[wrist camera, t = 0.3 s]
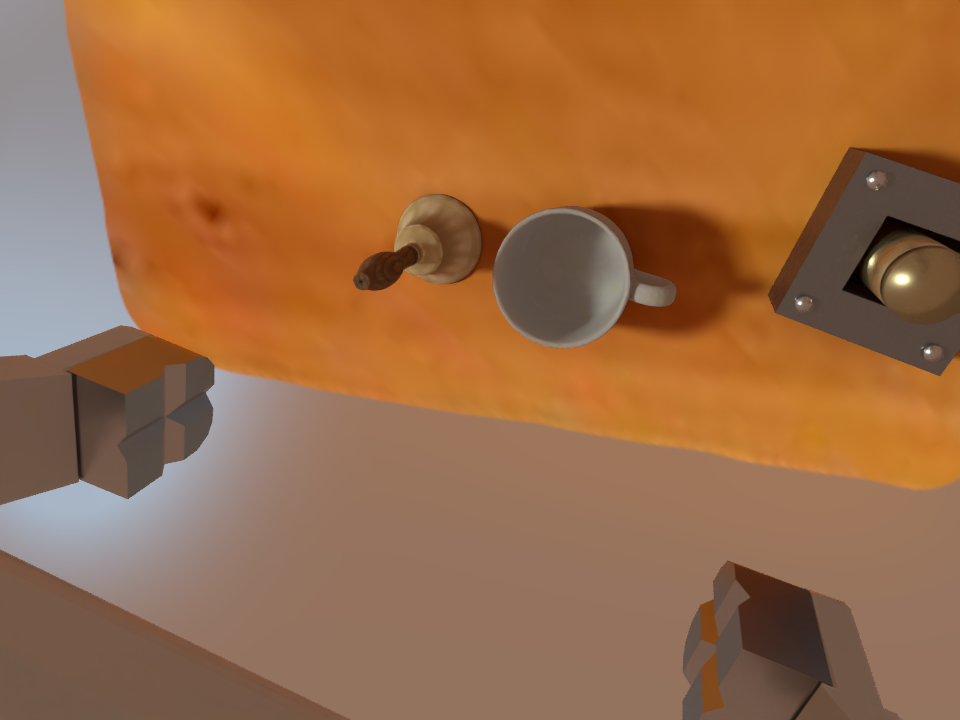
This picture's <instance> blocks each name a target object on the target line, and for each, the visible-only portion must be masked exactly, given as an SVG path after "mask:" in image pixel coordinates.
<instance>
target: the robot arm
mask: <svg viewBox="0 0 960 720" xmlns="http://www.w3.org/2000/svg"><path fill="white" fill-rule="evenodd" d="M213 385H214V365H213V363H212V362H211V361H210V360H209V359H208V358H207V357H205V356H202V355H200V354H197V353H195V352H193V351H190V350H188V349H185V348H183V347H181V346H178V345H176V344H173V343H171V342H169V341H166V340H164V339H161V338H159V337H155V336H153V335H152V334H149V333H146V332H144V331H141V330H139V329H136V328H133V327H128V326H118V327H116V328H113V329H110V330H108V331H105V332H102V333H100V334H97V335H94V336H92V337H89V338H87V339H84V340H81V341H79V342H76V343H74V344H71V345H69V346H66V347H63V348H60V349H58V350H55V351H52V352H50V353H47V354H45V355H42V356H39V357H37V358H32V357H29V356H27V355H20V356H4V357H0V505H2V504H5V503H8V502H12V501H15V500H19V499H22V498H26V497H29V496H32V495H36V494H39V493H43V492H46V491H50V490H53V489H56V488H60V487H63V486H67V485H70V484H74V483H77V482H79V479H80V480H82V481H85V482H87V483H90V484H92V485H95V486H97V487H99V488H102V489H104V490H107V491H109V492H112V493H114V494H116V495H119V496H121V497H124V498H126V499H129V498H130V497H132V496H133V495H134V494H136V493H137V492H139V491H140V490H142V489H143V488H145V487H146V486H147V485H149V484H150V483H152V482H153V481H155V480H156V479H157V478H159V477H160V476H162V473H163V469H164V464H167V463H172V462H177V461H181V460H184V459H186V458H187V457H188V456H190V455H191V454H193V453H194V452H195V451H197V449H198V448H199V447H200V445H201V444H202V442H203V441H204V440H205V438H206V437H207V435H208V433H209V429H210V427H211V424H212V416H213V407H212V405H211V403H210V401H209V399H208V397H207V395H206V391H208V390H209V389H210V388H211V387H212V386H213ZM713 588H714V589H713V590H714V600H711V601H708V602H706V603H704V604H701V605H700V607H699V609H698V611H697V613H696V615H695V617H694V619H693V621H692V623H691V626H690V629H689V633H688V636H687V639H686V643H685V650H684V656H683V673H684V675H685V677H686V678H687V680H688V682H689V683H690V685H691V687H690V689H689V691H688V692H687V694H686V696H685V698H684V699H683V720H902V719H901V718H900V717H899V716H898V715H897V714H896V713H893V712H891V711H889V710H887V709H884V708H883V706H882V703H881V700H880V697H879V694H878V691H877V688H876V685H875V682H874V679H873V676H872V673H871V670H870V667H869V664H868V660H867V657H866V655H865V651H864V648H863V645H862V642H861V639H860V636H859V633H858V630H857V627H856V624H855V621H854V618H853V615H852V612H851V609H850V608H849V607H848V606H847V605H846V604H845V603H844V602H842V601H839V600H836V599H833V598H831V597H828V596H825V595H822V594H819V593H817V592H814V591H811V590H808V589H803V588H800V587H798V586H795V585H792V584H790V583H787V582H784V581H781V580H779V579H776V578H773V577H771V576H768V575H765V574H763V573H760V572H757V571H755V570H752V569H749V568H747V567H744V566H741V565H739V564H736V563H733V562H731V561H727V562H726V563H725V564H724V565H723V566H722V567H721V568H720V570H719V572H718V574H717V576H716V577H715V579H714V581H713ZM0 720H350V719H348V718H346V717H344V716H342V715H340V714H338V713H336V712H334V711H331V710H330V709H327V708H326V707H323V706H321V705H319V704H317V703H315V702H313V701H311V700H309V699H307V698H305V697H303V696H300V695H299V694H297V693H295V692H293V691H291V690H288V689H286V688H284V687H282V686H280V685H278V684H276V683H274V682H272V681H270V680H268V679H266V678H264V677H262V676H260V675H257V674H256V673H253V672H251V671H249V670H247V669H245V668H243V667H241V666H239V665H237V664H235V663H233V662H231V661H229V660H227V659H225V658H223V657H221V656H218V655H216V654H214V653H212V652H210V651H208V650H206V649H204V648H202V647H200V646H198V645H195V644H194V643H192V642H190V641H187V640H186V639H184V638H181V637H179V636H177V635H175V634H173V633H171V632H169V631H167V630H165V629H163V628H161V627H159V626H157V625H155V624H153V623H150V622H148V621H146V620H144V619H142V618H140V617H138V616H136V615H134V614H132V613H130V612H128V611H126V610H124V609H122V608H120V607H118V606H116V605H114V604H111V603H109V602H107V601H105V600H103V599H101V598H99V597H97V596H95V595H93V594H91V593H89V592H87V591H84V590H83V589H81V588H79V587H76V586H74V585H72V584H70V583H68V582H66V581H64V580H62V579H60V578H58V577H56V576H54V575H52V574H50V573H47V572H46V571H44V570H41V569H39V568H37V567H35V566H33V565H31V564H29V563H27V562H25V561H23V560H21V559H19V558H17V557H15V556H13V555H10V554H9V553H6V552H4V551H2V550H0Z"/></svg>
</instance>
